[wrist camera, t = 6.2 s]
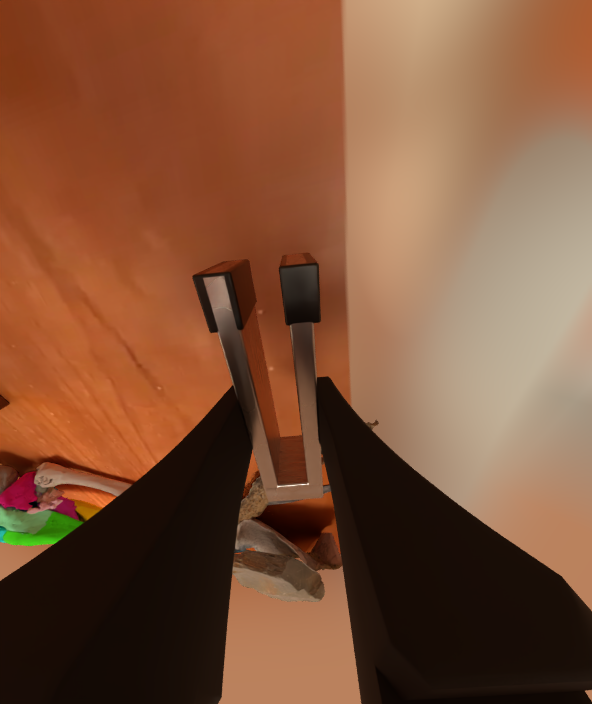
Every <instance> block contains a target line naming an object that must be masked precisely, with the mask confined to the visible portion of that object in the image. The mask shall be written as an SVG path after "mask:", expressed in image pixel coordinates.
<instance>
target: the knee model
mask: <svg viewBox="0 0 592 704" xmlns="http://www.w3.org/2000/svg"><path fill="white" fill-rule="evenodd" d="M36 470H37V472H35V471H33V472H28V473H25V474H24V475H23V476H22V477H21V478H19V479H18V472H17V471H16V470H15V469H14V468H13V467H11V466H4V465H0V542H3V543H9V544H12V545H25V546H33V545H42V544H55V543H56V542H58V541H59V540H61V539H62V538H63V537H65V536H66V535H67V534H69V533H70V532H72V531H73V530H74V529H76V528H77V527H79V526H80V525H81V524H83V523H84V522H85V521H87V520H88V519H89V518H91V517H92V516H93V515H95V514H96V513H97V512H99V511H100V510H101V509H103V508H102V507H98V506H96V505H93V504H92V503H91V504H90V503H88V502H85V501H81V500H75V499H67V498H64V497H62V494H64V492H63V491H59V490H58V489H56V488H55V486H57V485H58V484H59V485H60V484H76V485H83V486H87V487H92V488H96V489H101V490H102V491H105V492H109V493H111V494H113V495H116V496H119V495H120V494H121V493H123V492H124V491H125V490H126V489H128V488H129V487H130V486H131V485H133V484H129V483H125V482H121V481H118V480H113V479H109V478H104V477H101V476H97V475H93V474H86V473H82V472H78V471H74V470H71V469H69V468H66V467H63V466H61V465H58V464H55V463H50V462H45V463H43V464H41V465H40V466H38V467H37V468H36ZM17 479H18V480H17Z"/></svg>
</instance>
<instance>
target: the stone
mask: <svg viewBox="0 0 592 704" xmlns="http://www.w3.org/2000/svg"><path fill="white" fill-rule="evenodd" d="M232 574H233V575H235V577H236V578H237V580H238V581H239V583H240V584H241V585H243V586H245V587H248V588H254V589H255V590H257V591H258V592H260V593H262V594H266V595H268V596H269V597H271V598H277V599H280V600H283V601H311V602H318V601H320V600H321V599H322V598H323V596H324V593H325V590H324V584H323V582H322V581H321V576H320V575H319V573H317V572H316V571H313V570H311V569H310V568H309V567H307V566H306V565H305V564H304V563H303V562H301V561H299V560H296V559H295V558H293V557H288V556H283V555H278V554H272V553H267V552H260V551H250V550H245V551H244V552H242V553H241V554H234V562H233V570H232Z"/></svg>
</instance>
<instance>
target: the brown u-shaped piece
mask: <svg viewBox="0 0 592 704" xmlns="http://www.w3.org/2000/svg"><path fill="white" fill-rule="evenodd" d="M279 274H280V282H281V290H282V298H283V306H284V314H285V322H286V325H289V326H290V334H291V343H292V351H293V360H294V369H295V377H296V386H297V394H298V403H299V412H300V420H301V429H302V435H300V436H288V437H280V433H279V428H278V423H277V418H276V412H275V407H274V402H273V397H272V392H271V387H270V381H269V376H268V371H267V366H266V361H265V355H264V350H263V345H262V340H261V335H260V330H259V324H258V319H257V314H256V309H255V304H256V302H257V300H256V295H255V290H254V284H253V279H252V273H251V268H250V263H249V260H248V259H245V260H235V261H226V262H221V263H219V264H217V265H215V266H213V267H211V268H208V269H206V270H204V271H202V272H200V273H197V274H195V275H193V281H194V284H195V287H196V290H197V293H198V297H199V300H200V303H201V306H202V309H203V312H204V315H205V318H206V322H207V325H208V328H209V331H210V333H215V332H217V333H218V336H219V339H220V343H221V346H222V349H223V353H224V356H225V359H226V363H227V366H228V369H229V373H230V376H231V379H232V383H233V386H234V389H235V392H236V396H237V399H238V402H239V406H240V409H241V412H242V416H243V419H244V422H245V426H246V429H247V432H248V436H249V439H250V442H251V446H252V449H253V452H254V455H255V459H256V462H257V465H258V469H259V472H260V475H261V479H262V482H263V485H264V489H265V492H266V495H267V498H268V501H269V502H274V501H287V500H300V499H313V498H322V497H323V481H322V463H321V445H320V432H319V414H318V396H317V393H318V390H317V372H316V354H315V336H314V323H319V322H320V321H321V313H320V287H319V264H318V263H317V261H316V260H315V259H314V258H313V257H312V256H311V255H310V254H309V253H302V254H293V255H284V256H282V260H281V263H280V267H279Z"/></svg>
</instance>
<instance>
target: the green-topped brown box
mask: <svg viewBox="0 0 592 704" xmlns="http://www.w3.org/2000/svg"><path fill="white" fill-rule="evenodd" d="M7 405H9V403H8V402H7V401H6V400H5V399H3V398H2V397H1V396H0V410H1V409H2V408H4V407H6V406H7Z"/></svg>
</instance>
